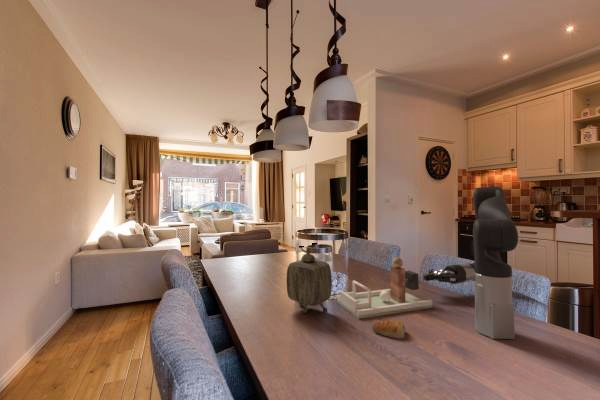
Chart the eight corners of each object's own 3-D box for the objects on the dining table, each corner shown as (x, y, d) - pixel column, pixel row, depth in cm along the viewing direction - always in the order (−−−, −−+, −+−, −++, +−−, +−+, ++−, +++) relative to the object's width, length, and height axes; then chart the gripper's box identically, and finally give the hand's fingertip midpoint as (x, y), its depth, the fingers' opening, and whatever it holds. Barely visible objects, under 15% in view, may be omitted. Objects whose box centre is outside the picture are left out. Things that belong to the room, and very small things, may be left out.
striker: (410, 294, 115) (409, 254, 115) (418, 299, 110) (418, 257, 110) (389, 297, 112) (388, 256, 112) (397, 301, 107) (396, 259, 107)
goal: (355, 299, 112) (354, 279, 112) (372, 310, 100) (372, 289, 100) (339, 301, 110) (339, 281, 110) (355, 313, 98) (354, 291, 98)
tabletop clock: (332, 312, 102) (331, 241, 102) (317, 320, 95) (316, 244, 95) (300, 303, 111) (299, 238, 111) (284, 310, 104) (283, 241, 104)
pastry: (370, 335, 85) (370, 322, 85) (373, 326, 91) (373, 314, 91) (404, 340, 81) (404, 327, 81) (405, 330, 87) (405, 318, 87)
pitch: (402, 293, 121) (402, 287, 121) (432, 307, 105) (432, 300, 105) (337, 301, 112) (337, 295, 112) (358, 318, 96) (358, 311, 96)
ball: (392, 303, 107) (392, 292, 107) (381, 303, 107) (381, 292, 107) (389, 299, 111) (389, 289, 111) (378, 299, 111) (378, 289, 111)
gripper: (446, 261, 126) (413, 264, 120) (473, 268, 113) (437, 272, 108) (447, 278, 126) (413, 282, 120) (473, 287, 113) (437, 292, 108)
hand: (424, 277), depth 114 cm, fingers closed
